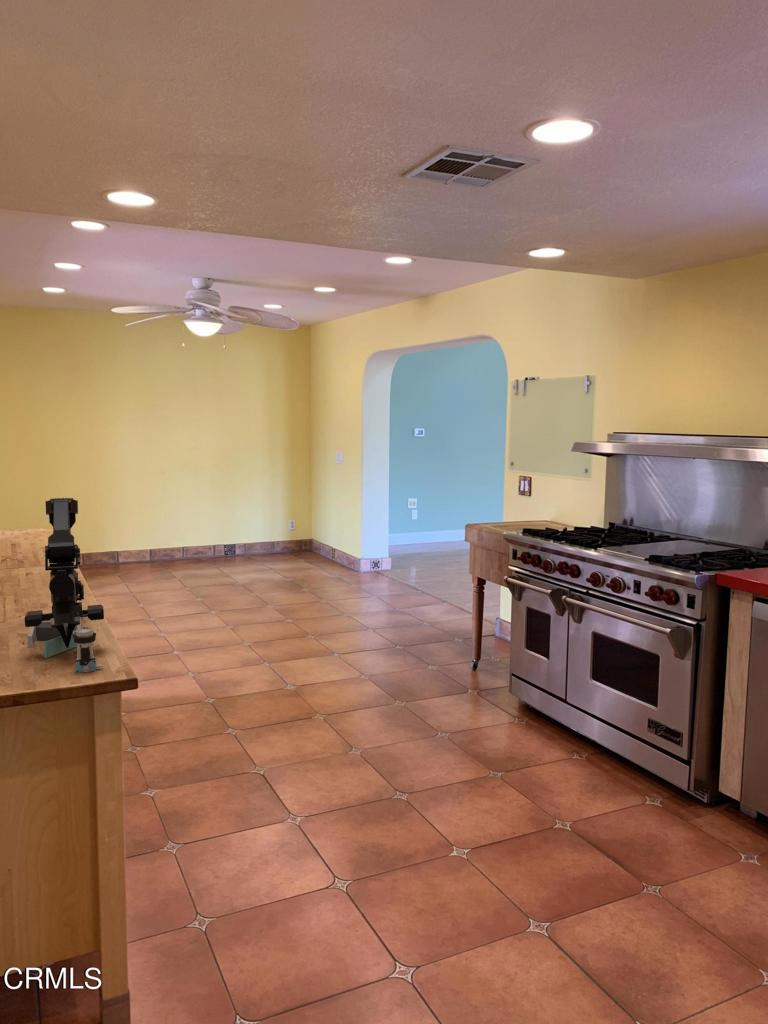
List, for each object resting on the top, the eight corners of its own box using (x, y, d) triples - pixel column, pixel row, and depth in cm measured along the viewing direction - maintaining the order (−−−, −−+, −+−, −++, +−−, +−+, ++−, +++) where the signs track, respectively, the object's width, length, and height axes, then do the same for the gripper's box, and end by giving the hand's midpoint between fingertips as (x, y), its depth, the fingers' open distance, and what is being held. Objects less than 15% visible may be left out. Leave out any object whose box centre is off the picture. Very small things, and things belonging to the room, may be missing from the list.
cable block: (44, 636, 215) (44, 622, 214) (73, 636, 215) (72, 622, 214) (36, 641, 210) (35, 627, 209) (65, 641, 210) (65, 627, 209)
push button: (102, 665, 190) (101, 626, 189) (104, 672, 185) (102, 632, 184) (73, 668, 188) (72, 629, 186) (74, 675, 183) (72, 634, 181)
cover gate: (43, 657, 195) (43, 642, 194) (81, 643, 207) (81, 628, 207) (46, 657, 195) (45, 642, 194) (84, 643, 207) (83, 629, 206)
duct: (32, 632, 218) (32, 616, 217) (89, 627, 223) (89, 612, 222) (27, 648, 202) (27, 632, 202) (88, 643, 208) (88, 627, 207)
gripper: (20, 599, 186) (25, 661, 188) (102, 592, 192) (106, 652, 194) (24, 589, 196) (28, 648, 198) (101, 583, 203) (105, 640, 205)
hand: (67, 647), depth 198 cm, fingers closed
